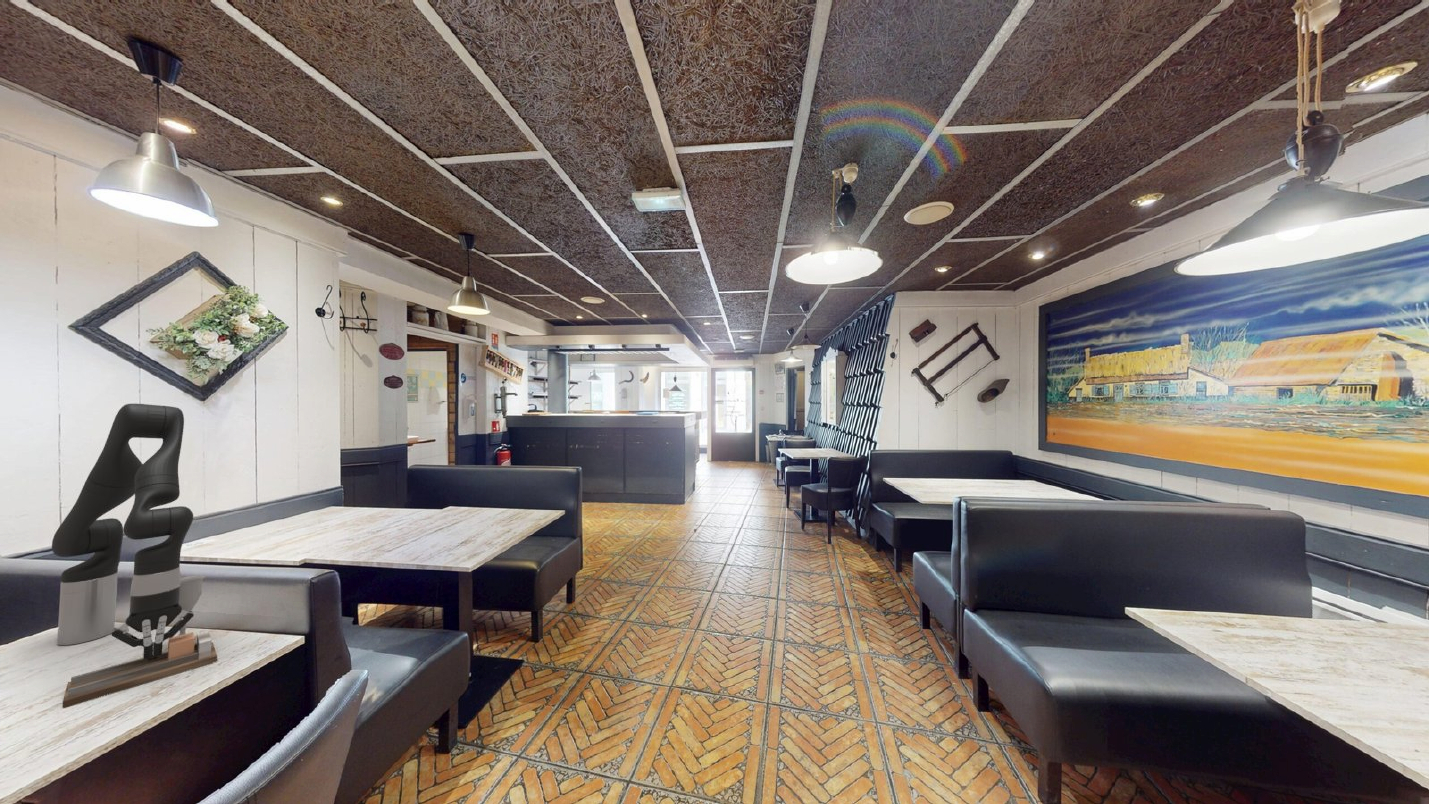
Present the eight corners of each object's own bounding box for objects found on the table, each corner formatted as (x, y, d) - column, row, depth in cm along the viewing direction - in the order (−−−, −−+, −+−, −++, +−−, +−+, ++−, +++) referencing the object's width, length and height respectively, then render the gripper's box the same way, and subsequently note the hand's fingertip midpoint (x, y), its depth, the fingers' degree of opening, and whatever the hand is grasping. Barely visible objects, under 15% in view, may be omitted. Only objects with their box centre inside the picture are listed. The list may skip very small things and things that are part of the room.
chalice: (176, 653, 114) (180, 585, 115) (152, 652, 114) (155, 585, 115) (209, 638, 121) (212, 575, 122) (186, 638, 121) (189, 575, 122)
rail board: (67, 688, 99) (68, 664, 99) (212, 647, 117) (213, 627, 117) (62, 708, 92) (63, 682, 93) (216, 661, 110) (217, 640, 110)
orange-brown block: (167, 658, 109) (168, 638, 109) (192, 651, 112) (193, 632, 112) (168, 665, 106) (169, 644, 106) (193, 657, 109) (194, 638, 109)
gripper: (196, 577, 113) (193, 642, 113) (111, 593, 103) (106, 665, 102) (198, 584, 109) (195, 652, 108) (109, 601, 98) (105, 677, 98)
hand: (152, 658), depth 105 cm, fingers closed
